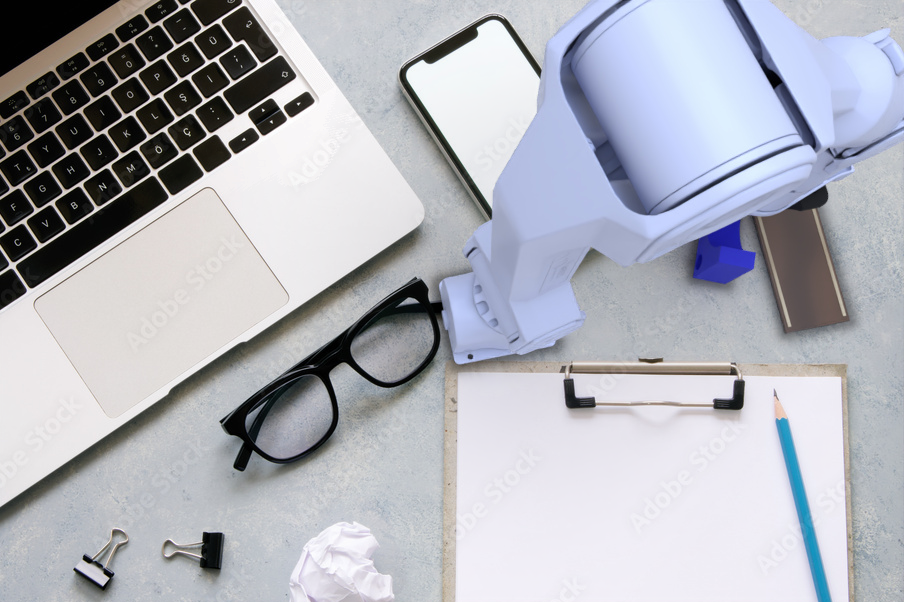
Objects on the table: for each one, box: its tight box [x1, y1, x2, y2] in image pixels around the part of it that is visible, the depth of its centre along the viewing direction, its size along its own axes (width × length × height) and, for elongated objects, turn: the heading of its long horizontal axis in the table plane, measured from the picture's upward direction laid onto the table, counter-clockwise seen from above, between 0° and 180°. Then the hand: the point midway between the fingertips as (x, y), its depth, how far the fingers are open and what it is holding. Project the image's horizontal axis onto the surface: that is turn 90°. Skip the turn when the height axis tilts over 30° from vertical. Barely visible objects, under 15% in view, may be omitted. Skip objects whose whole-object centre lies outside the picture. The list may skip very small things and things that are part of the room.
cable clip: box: [692, 218, 757, 285], centre depth 68 cm, size 12×4×6 cm, turn 168°
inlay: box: [752, 208, 851, 334], centre depth 70 cm, size 6×14×1 cm, turn 11°
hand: (718, 212), depth 69 cm, fingers open, 7 cm apart
